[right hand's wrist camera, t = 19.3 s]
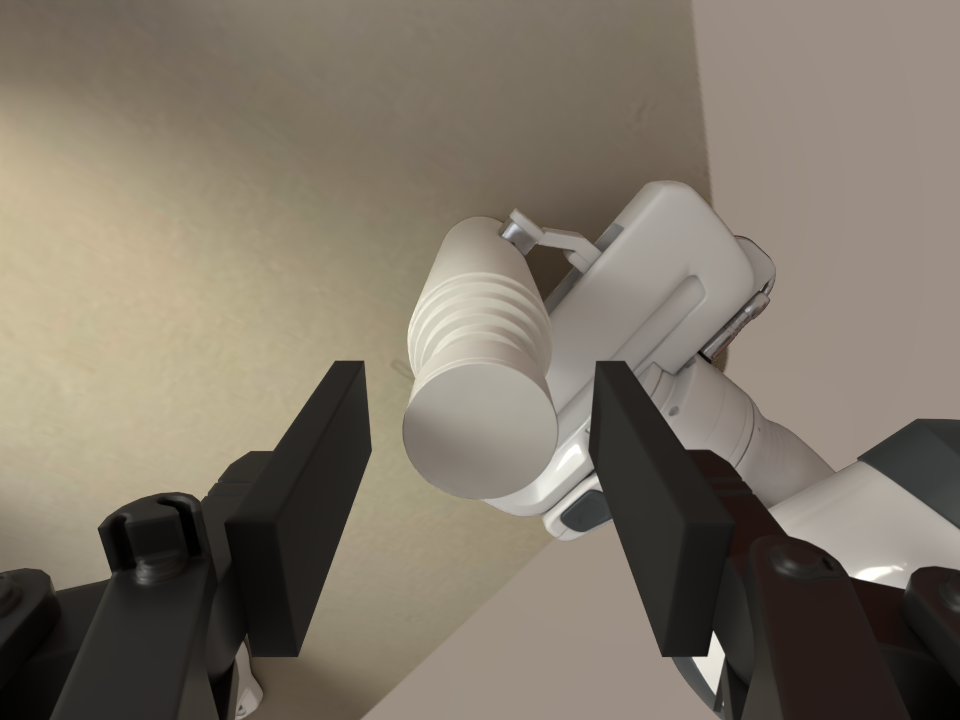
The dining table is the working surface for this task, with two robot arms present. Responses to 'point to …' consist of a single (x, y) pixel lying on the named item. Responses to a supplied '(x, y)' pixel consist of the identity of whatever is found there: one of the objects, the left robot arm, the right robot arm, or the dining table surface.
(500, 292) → the bottle
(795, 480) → the left robot arm
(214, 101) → the dining table surface
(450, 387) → the cap
